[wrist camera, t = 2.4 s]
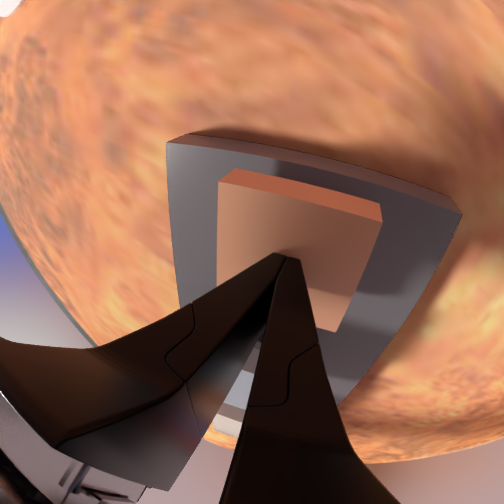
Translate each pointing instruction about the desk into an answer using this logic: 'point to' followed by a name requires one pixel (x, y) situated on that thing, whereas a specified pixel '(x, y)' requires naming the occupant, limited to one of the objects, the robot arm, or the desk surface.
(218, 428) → the key cream
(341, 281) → the key terracotta
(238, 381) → the key slate
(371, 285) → the keypad board
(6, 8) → the white stand
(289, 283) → the robot arm
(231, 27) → the desk surface
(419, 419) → the desk surface
